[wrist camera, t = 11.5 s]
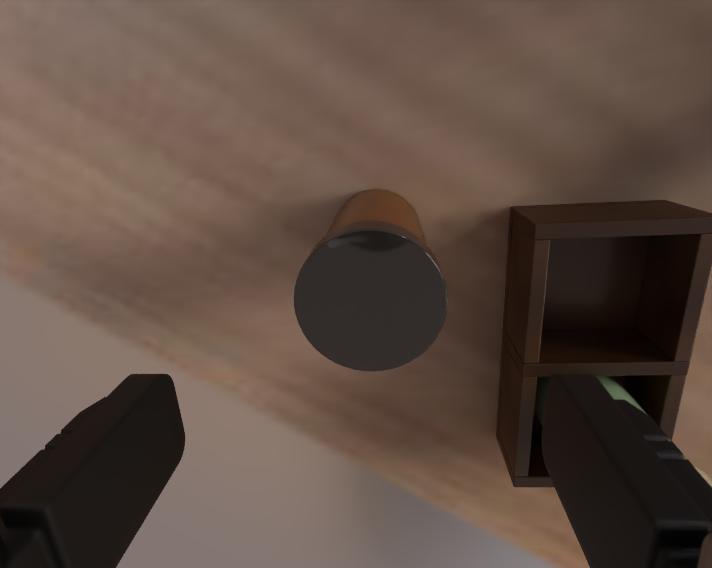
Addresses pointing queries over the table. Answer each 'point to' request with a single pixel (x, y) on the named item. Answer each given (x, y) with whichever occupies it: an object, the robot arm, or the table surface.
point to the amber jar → (371, 286)
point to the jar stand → (598, 310)
